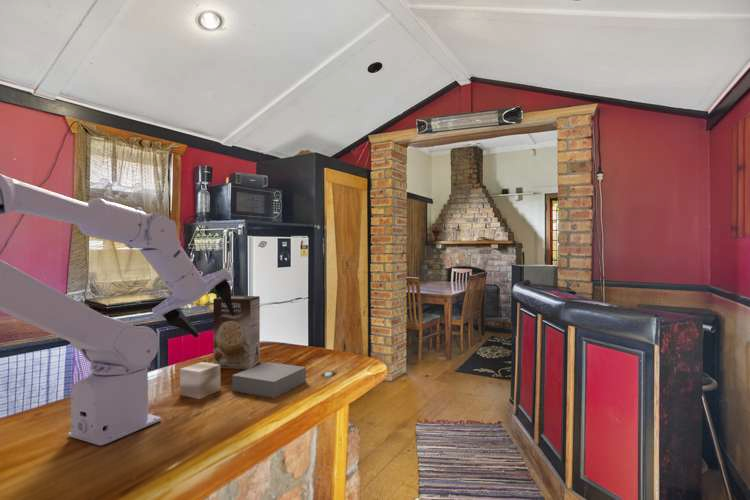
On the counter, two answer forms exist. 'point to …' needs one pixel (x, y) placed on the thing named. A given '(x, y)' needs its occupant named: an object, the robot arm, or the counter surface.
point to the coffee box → (237, 332)
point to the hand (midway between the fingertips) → (214, 323)
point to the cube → (200, 380)
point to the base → (269, 379)
